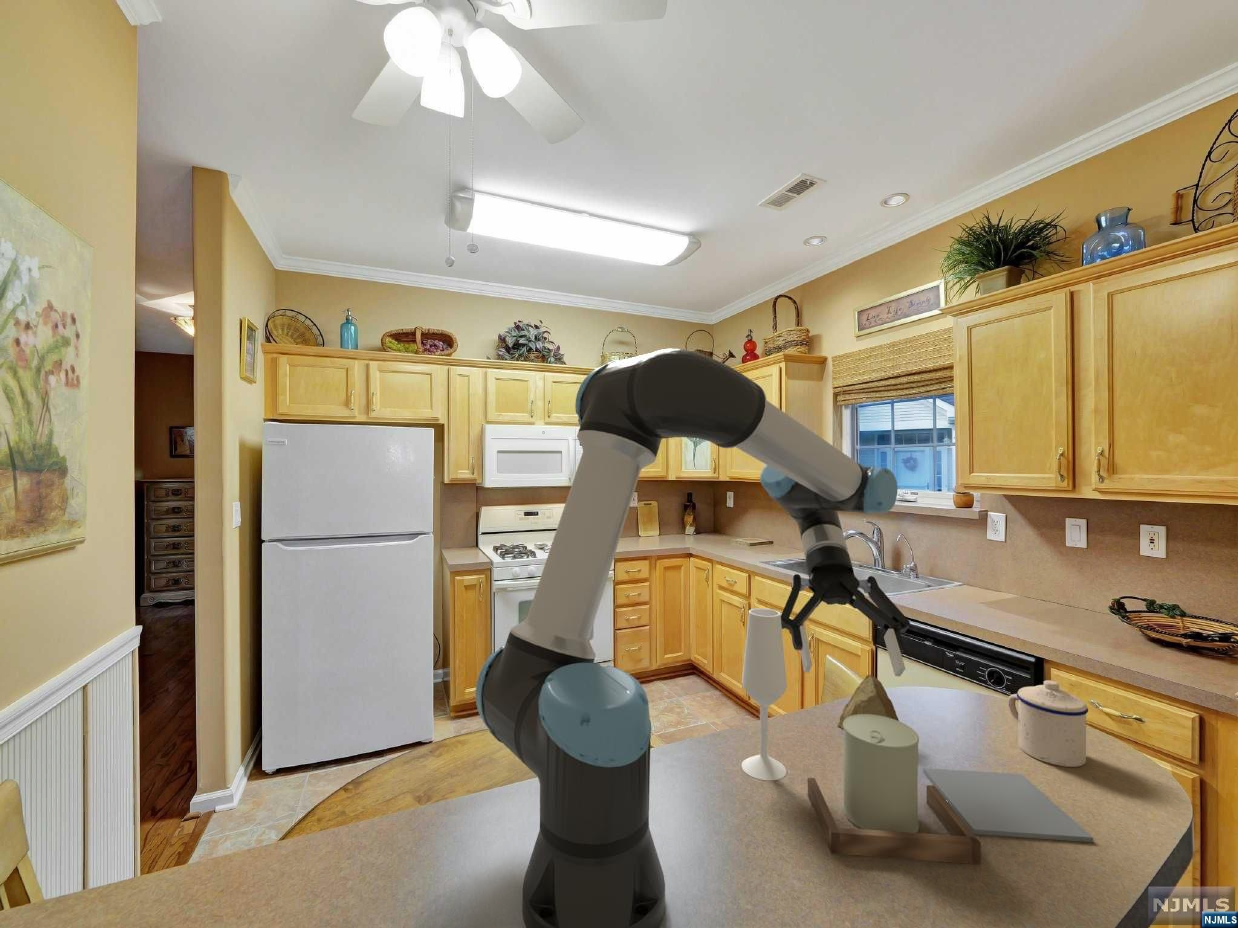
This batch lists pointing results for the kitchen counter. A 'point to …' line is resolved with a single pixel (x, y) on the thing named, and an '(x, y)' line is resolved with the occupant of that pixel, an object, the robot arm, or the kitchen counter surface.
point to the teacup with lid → (1050, 724)
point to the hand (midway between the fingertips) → (853, 670)
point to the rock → (869, 701)
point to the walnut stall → (901, 834)
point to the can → (880, 774)
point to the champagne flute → (764, 682)
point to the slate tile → (1004, 805)
